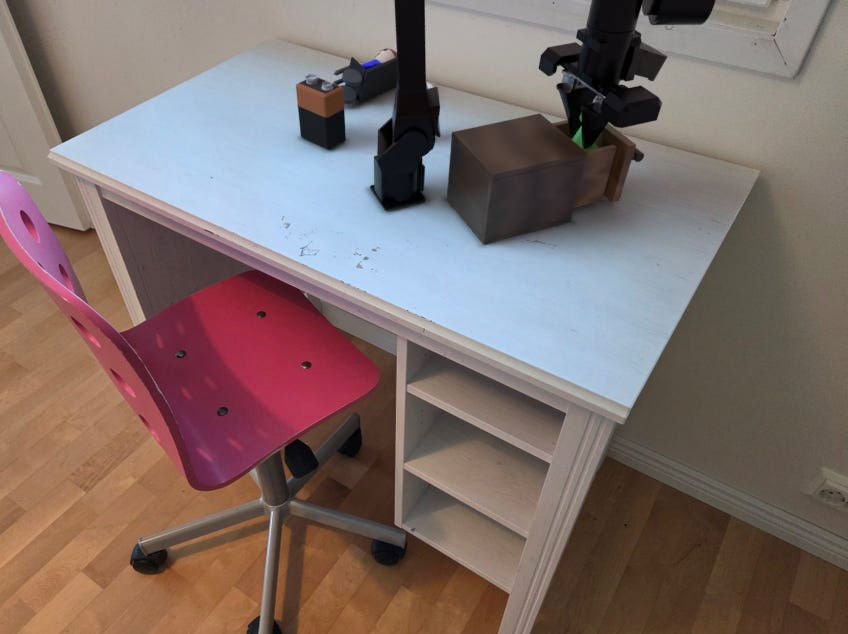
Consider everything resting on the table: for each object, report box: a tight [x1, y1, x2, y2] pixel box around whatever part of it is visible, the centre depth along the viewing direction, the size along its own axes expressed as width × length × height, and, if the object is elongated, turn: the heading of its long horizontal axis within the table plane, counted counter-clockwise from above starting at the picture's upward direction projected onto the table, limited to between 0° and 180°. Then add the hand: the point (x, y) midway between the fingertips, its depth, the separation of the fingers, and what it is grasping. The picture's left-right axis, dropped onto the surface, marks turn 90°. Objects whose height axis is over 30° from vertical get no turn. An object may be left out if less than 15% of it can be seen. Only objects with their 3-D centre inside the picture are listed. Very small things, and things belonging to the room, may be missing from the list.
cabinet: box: [446, 113, 587, 245], centre depth 89 cm, size 14×12×11 cm
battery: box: [295, 73, 347, 150], centre depth 104 cm, size 4×7×10 cm, turn 48°
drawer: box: [551, 119, 645, 209], centre depth 92 cm, size 17×10×9 cm, turn 111°
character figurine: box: [332, 48, 398, 105], centre depth 116 cm, size 8×7×15 cm
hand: (581, 144), depth 90 cm, fingers closed
